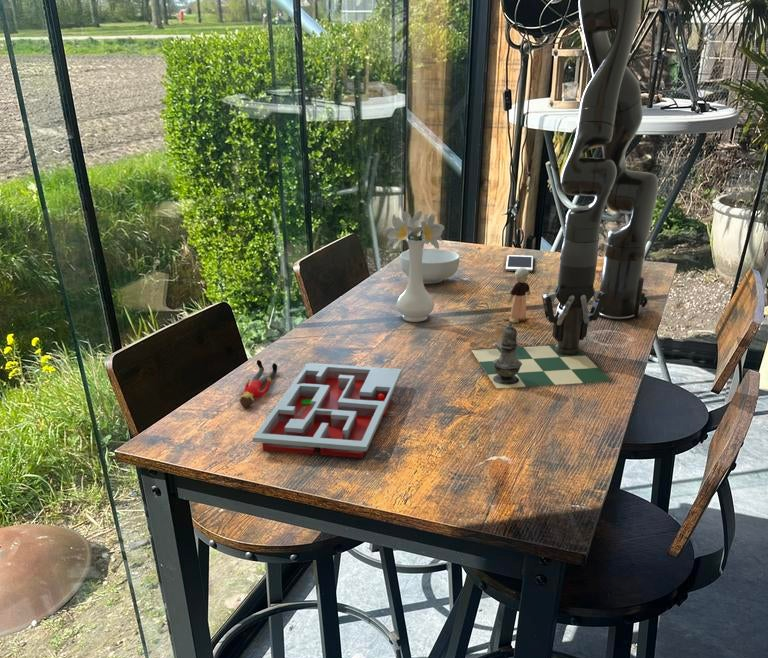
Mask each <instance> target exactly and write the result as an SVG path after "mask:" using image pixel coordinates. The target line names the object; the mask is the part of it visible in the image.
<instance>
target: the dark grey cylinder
mask: <svg viewBox="0 0 768 658" xmlns="http://www.w3.org/2000/svg"><path fill="white" fill-rule="evenodd" d="M562 309H563V307H562ZM582 317H583V311H582V307H581V306H580V307H570V309H569V310H568V313H567V315H566V316H565V318H564V320H563V322H562V325H563V326H562V334H561V341H557V343H556V344H555V345H556V347H555V351H556V352H557V353H559V354H563V355H576V354H578V353H580V350H581V347H582V346H581V345H580V342H581V340H580V333H581V325H582Z"/></svg>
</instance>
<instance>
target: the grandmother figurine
mask: <svg viewBox="0 0 768 658" xmlns="http://www.w3.org/2000/svg"><path fill="white" fill-rule="evenodd" d="M529 275H530V271H528V270H527V269H525V268H520V269H518V270H516V271H515V272H514V277H515V279H516V281H517V282H516V283H515V284H514V285H513V287H512V289H511V291H510V292H509V295H508V298H507V302H508V303H511V302H512V305H511V310H510V318H509V320H508V322H509V323H512V324H518V323H520V322H523V321H526V318H527V297H526V296H530V295H531V294H532V293H531V290H530V286H529V284H528V283H527V280H528V276H529Z"/></svg>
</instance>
